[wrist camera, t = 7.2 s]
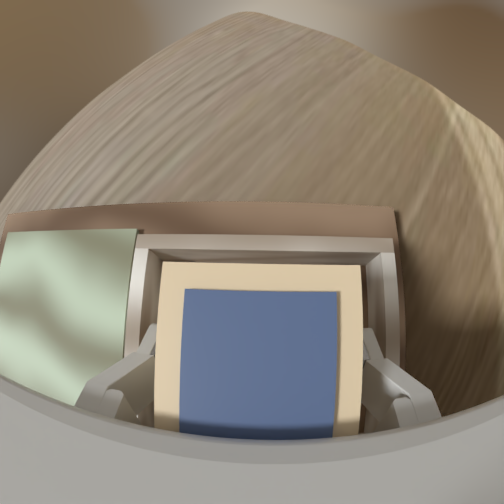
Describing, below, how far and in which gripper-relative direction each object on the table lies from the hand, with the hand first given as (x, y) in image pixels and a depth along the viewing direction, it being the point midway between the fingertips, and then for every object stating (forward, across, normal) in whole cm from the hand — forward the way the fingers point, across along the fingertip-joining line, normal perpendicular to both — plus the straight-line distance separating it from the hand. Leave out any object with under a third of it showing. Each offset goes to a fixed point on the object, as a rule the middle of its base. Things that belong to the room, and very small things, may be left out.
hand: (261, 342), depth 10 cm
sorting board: (+4, -8, -5) cm, 10 cm away
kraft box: (+3, 0, -4) cm, 5 cm away
